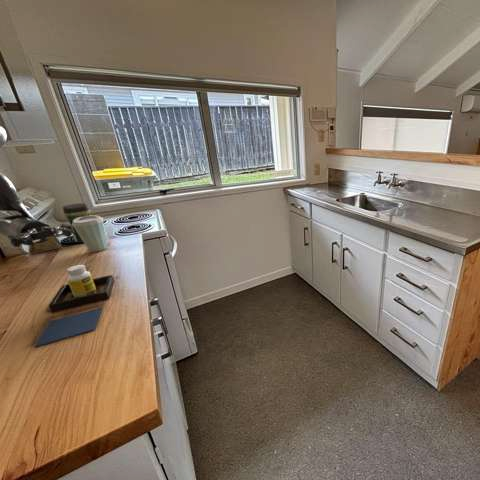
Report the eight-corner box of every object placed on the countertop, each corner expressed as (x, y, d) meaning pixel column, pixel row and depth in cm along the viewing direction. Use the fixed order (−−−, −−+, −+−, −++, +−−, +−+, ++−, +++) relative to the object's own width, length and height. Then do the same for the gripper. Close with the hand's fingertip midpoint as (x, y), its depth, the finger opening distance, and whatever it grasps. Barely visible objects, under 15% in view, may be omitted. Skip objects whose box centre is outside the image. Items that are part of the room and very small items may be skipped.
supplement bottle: (90, 299, 79) (79, 270, 75) (70, 301, 78) (58, 272, 74) (101, 290, 84) (91, 262, 80) (82, 291, 83) (71, 264, 79)
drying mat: (34, 347, 60) (34, 346, 60) (50, 321, 69) (50, 320, 69) (94, 330, 65) (94, 329, 65) (102, 308, 74) (101, 307, 74)
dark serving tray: (51, 313, 72) (48, 305, 72) (65, 292, 83) (62, 285, 82) (109, 298, 79) (106, 291, 78) (114, 281, 89) (112, 274, 88)
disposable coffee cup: (115, 248, 118) (104, 217, 112) (84, 256, 110) (72, 222, 105) (109, 243, 124) (99, 213, 119) (80, 250, 117) (68, 218, 111)
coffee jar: (98, 235, 135) (86, 201, 129) (101, 239, 130) (88, 203, 124) (74, 240, 129) (60, 204, 122) (76, 244, 124) (61, 207, 117)
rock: (21, 252, 109) (51, 244, 113) (17, 234, 111) (46, 227, 115) (38, 258, 119) (65, 251, 123) (34, 242, 121) (61, 235, 125)
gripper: (-5, 226, 80) (12, 233, 73) (55, 214, 92) (75, 220, 84) (6, 248, 83) (24, 257, 75) (64, 234, 94) (83, 241, 87)
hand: (51, 238), depth 80 cm, fingers open, 8 cm apart
